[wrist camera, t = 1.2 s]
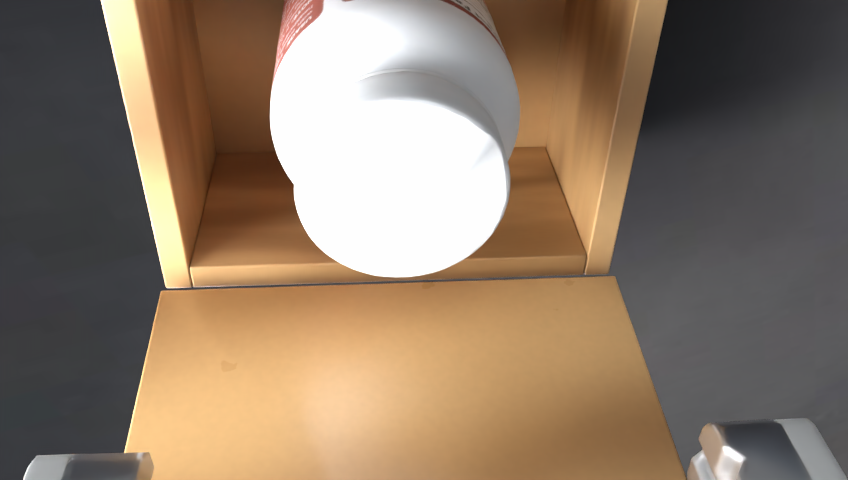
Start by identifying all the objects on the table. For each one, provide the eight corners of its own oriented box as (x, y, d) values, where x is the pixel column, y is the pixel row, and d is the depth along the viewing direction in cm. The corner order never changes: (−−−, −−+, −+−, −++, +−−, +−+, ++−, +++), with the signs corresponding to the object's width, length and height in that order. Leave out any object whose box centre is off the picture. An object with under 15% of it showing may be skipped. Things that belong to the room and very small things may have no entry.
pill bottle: (350, 118, 28) (353, 341, 20) (246, -32, 25) (192, 157, 16) (508, 35, 27) (588, 235, 18) (421, -138, 23) (468, 6, 15)
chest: (133, -230, 22) (59, -177, 16) (615, -222, 23) (705, -169, 17) (200, 159, 30) (165, 289, 24) (559, 152, 31) (609, 274, 25)
